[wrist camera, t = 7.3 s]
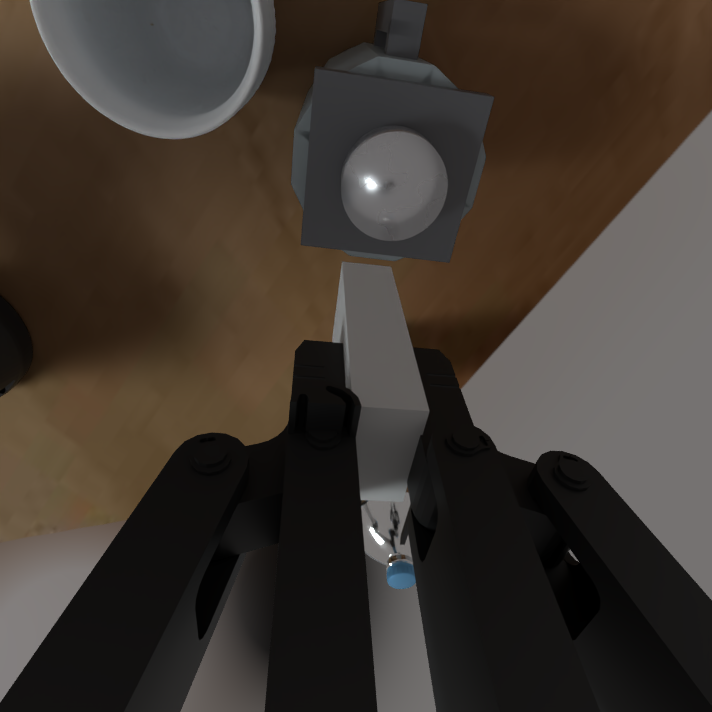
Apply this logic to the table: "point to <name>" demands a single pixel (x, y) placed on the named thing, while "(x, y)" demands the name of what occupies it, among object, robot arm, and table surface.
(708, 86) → the table surface
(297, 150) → the carafe
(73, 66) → the mug
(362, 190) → the plunger
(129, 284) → the table surface
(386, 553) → the water bottle
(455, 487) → the robot arm
